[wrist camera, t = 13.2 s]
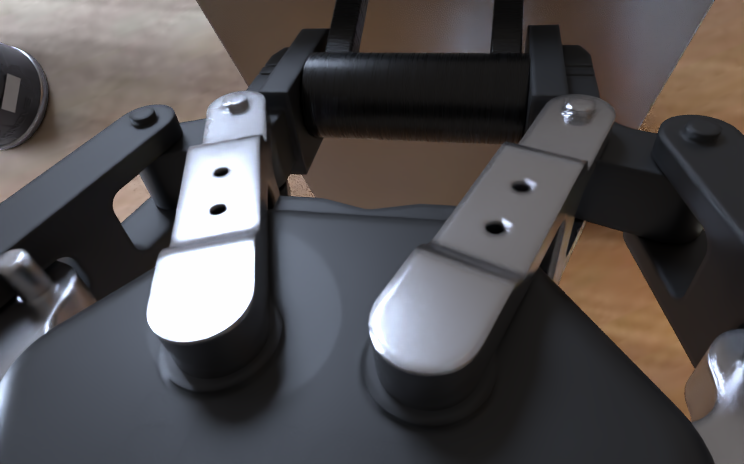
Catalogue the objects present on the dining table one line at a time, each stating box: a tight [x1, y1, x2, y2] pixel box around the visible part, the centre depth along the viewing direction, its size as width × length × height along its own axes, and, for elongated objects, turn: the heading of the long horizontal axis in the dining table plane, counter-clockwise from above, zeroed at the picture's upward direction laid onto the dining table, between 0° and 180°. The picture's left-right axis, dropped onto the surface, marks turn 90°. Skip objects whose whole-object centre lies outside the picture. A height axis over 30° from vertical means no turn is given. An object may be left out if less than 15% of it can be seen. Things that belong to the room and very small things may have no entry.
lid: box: [196, 0, 715, 209], centre depth 18 cm, size 18×14×6 cm
